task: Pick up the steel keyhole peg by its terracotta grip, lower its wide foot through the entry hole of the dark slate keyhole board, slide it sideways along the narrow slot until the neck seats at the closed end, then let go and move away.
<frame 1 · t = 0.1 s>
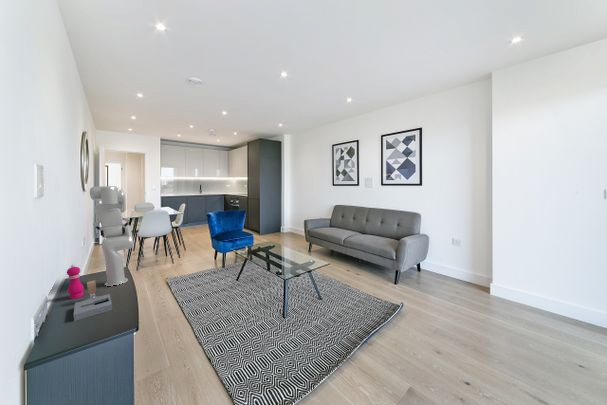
hand: (113, 235, 148), 37 cm above the sideboard top, tool pointing down, fingers open, 9 cm apart
pepper mill: (76, 296, 150), on the sideboard top
keyhole board: (93, 309, 133), on the sideboard top
keyhole peg: (93, 300, 144), on the sideboard top
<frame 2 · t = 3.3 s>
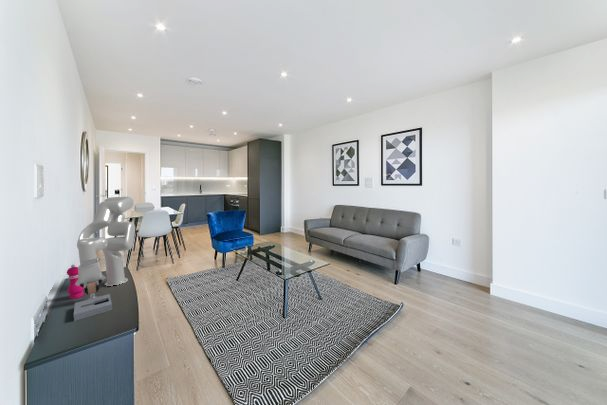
hand: (92, 292, 144), 5 cm above the sideboard top, tool pointing down, fingers closed on keyhole peg, 3 cm apart
keyhole peg: (93, 300, 144), on the sideboard top, touching gripper
everything else where it was.
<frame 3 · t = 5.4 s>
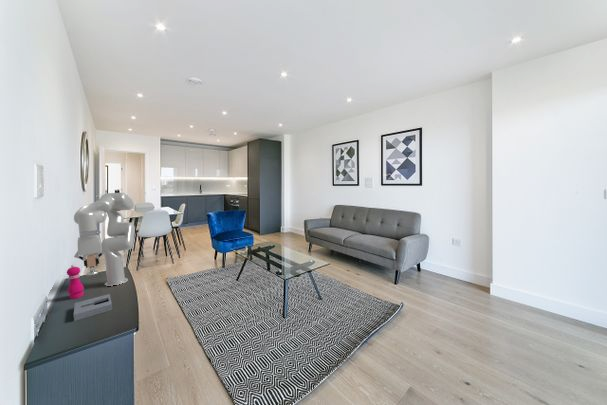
hand: (91, 266, 138), 22 cm above the sideboard top, tool pointing down, fingers closed on keyhole peg, 3 cm apart
keyhole peg: (92, 274, 138), point 17 cm above the sideboard top, touching gripper
everything else where it was.
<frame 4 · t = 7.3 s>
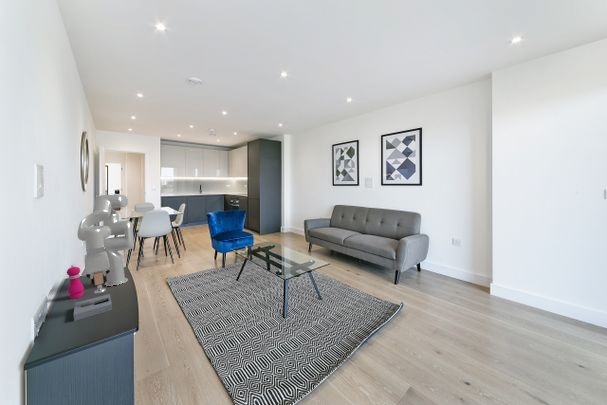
hand: (99, 283, 134), 13 cm above the sideboard top, tool pointing down, fingers closed on keyhole peg, 3 cm apart
keyhole peg: (100, 292, 134), point 9 cm above the sideboard top, touching gripper
everything else where it was.
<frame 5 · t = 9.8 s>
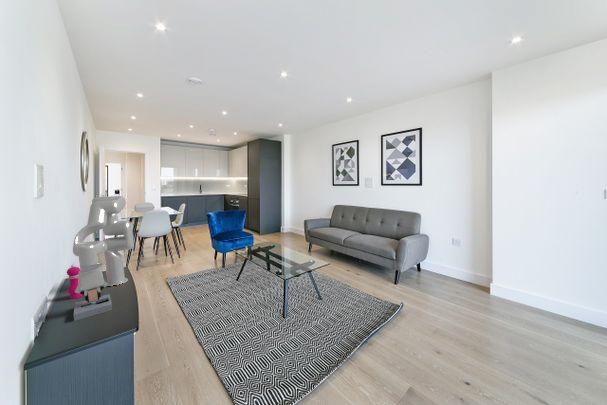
hand: (93, 300, 133), 5 cm above the sideboard top, tool pointing down, fingers closed on keyhole peg, 3 cm apart
keyhole peg: (94, 308, 133), resting in keyhole board, touching gripper
everything else where it was.
when the fingers open (5 cm above the sideboard top, at t = 11.6 s): keyhole peg stays where it is, resting in keyhole board.
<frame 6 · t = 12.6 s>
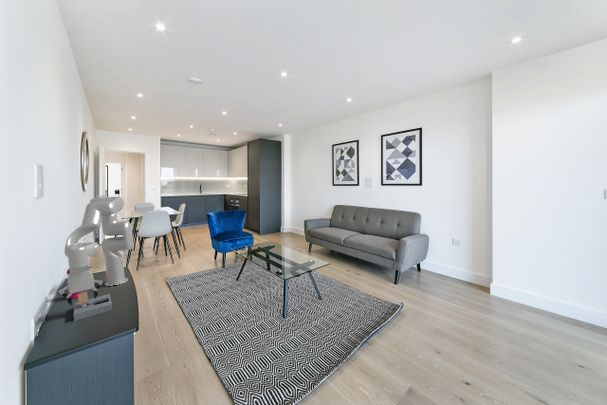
hand: (83, 300, 130), 6 cm above the sideboard top, tool pointing down, fingers open, 9 cm apart
keyhole peg: (84, 311, 131), resting in keyhole board
everything else where it was.
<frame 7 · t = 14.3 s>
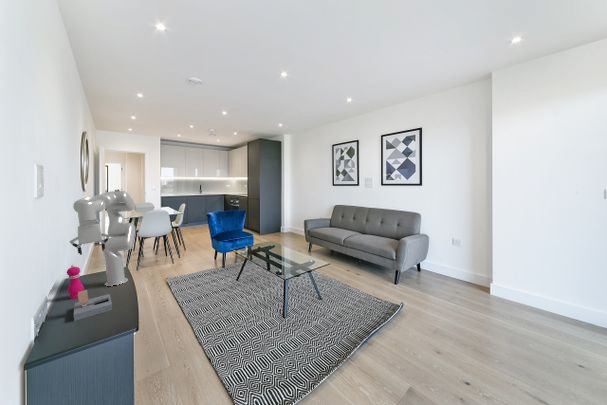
hand: (92, 252, 141), 29 cm above the sideboard top, tool pointing down, fingers open, 9 cm apart
nothing on the sideboard top moved.
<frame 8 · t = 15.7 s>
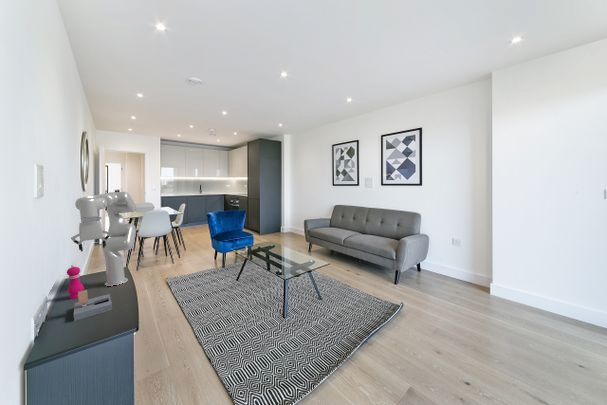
hand: (93, 249, 142), 30 cm above the sideboard top, tool pointing down, fingers open, 9 cm apart
nothing on the sideboard top moved.
at the end: keyhole peg 0.0 cm from the target spot on the keyhole board, point 0.0 cm above the keyhole board's base; keyhole peg tilted 1°; the gripper is holding nothing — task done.
